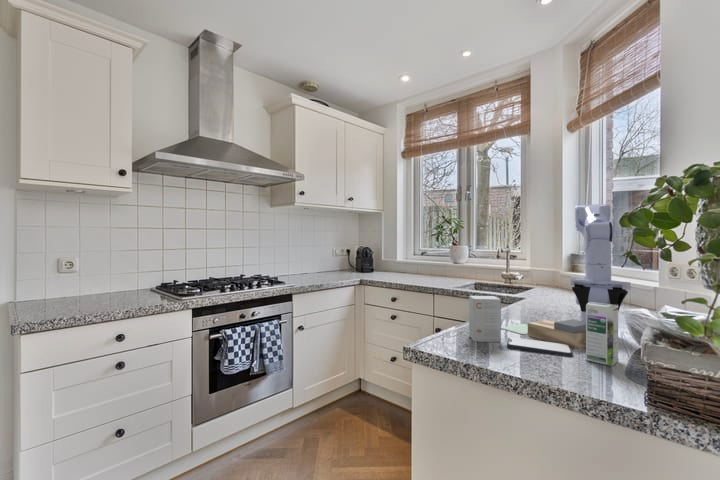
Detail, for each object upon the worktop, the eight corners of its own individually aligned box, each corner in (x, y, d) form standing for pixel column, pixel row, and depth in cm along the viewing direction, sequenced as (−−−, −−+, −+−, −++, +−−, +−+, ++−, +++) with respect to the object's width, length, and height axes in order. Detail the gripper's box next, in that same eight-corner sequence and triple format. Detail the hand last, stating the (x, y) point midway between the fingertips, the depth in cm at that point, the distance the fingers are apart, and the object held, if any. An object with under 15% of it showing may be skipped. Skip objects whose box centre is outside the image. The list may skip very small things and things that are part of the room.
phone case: (569, 350, 96) (508, 341, 103) (569, 344, 96) (508, 336, 103) (573, 359, 88) (506, 349, 95) (573, 353, 88) (506, 344, 95)
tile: (572, 325, 106) (572, 319, 106) (592, 330, 100) (592, 323, 100) (554, 328, 102) (554, 322, 102) (574, 333, 96) (574, 326, 96)
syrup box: (584, 360, 86) (585, 303, 86) (592, 355, 90) (592, 300, 90) (612, 367, 82) (612, 306, 82) (618, 361, 85) (619, 304, 86)
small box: (494, 336, 107) (494, 295, 107) (501, 342, 101) (501, 299, 101) (468, 336, 108) (468, 295, 108) (473, 342, 102) (473, 298, 102)
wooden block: (547, 331, 113) (547, 319, 113) (595, 343, 100) (595, 330, 100) (527, 335, 109) (527, 322, 109) (575, 348, 96) (575, 334, 96)
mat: (523, 324, 123) (523, 323, 123) (546, 330, 115) (546, 329, 115) (499, 328, 117) (499, 327, 117) (522, 334, 109) (522, 333, 109)
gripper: (564, 263, 100) (564, 310, 99) (620, 265, 87) (620, 318, 86) (578, 264, 103) (578, 309, 102) (634, 265, 90) (635, 317, 89)
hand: (598, 313), depth 94 cm, fingers open, 7 cm apart
